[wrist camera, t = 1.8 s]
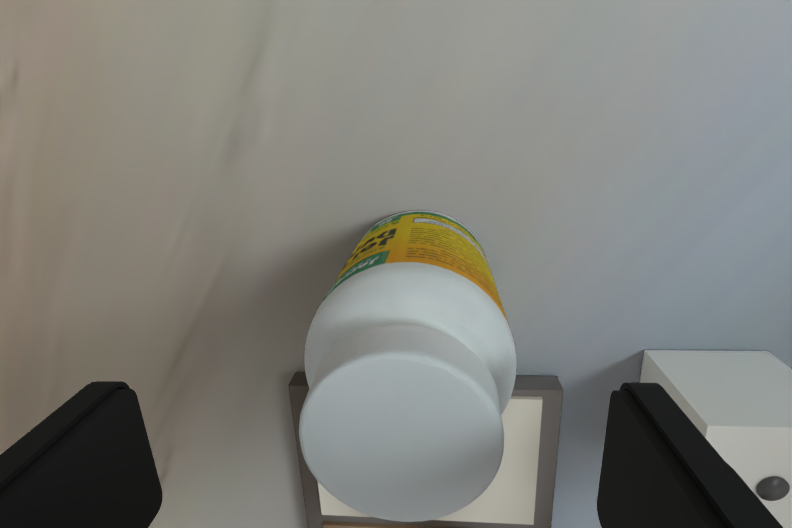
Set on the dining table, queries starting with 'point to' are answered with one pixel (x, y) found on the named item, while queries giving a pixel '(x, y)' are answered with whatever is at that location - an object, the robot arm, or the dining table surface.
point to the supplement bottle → (408, 373)
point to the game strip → (508, 492)
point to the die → (736, 413)
